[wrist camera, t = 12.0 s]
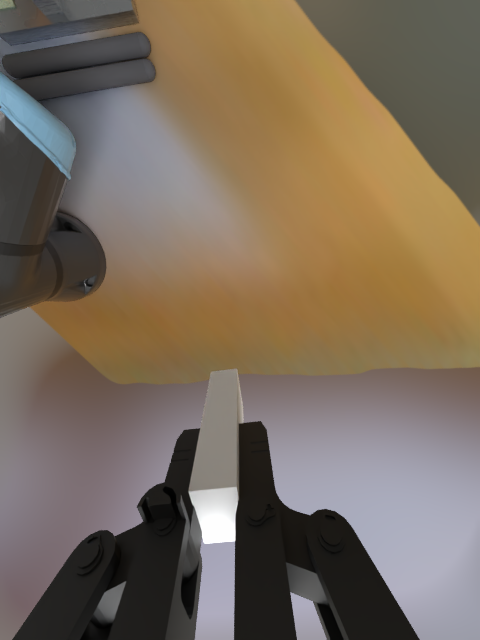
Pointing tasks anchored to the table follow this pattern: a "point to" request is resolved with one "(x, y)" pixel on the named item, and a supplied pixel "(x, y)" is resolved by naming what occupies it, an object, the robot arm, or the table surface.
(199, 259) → the table surface
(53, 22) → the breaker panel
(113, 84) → the dark grey double rods
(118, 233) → the table surface
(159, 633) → the robot arm
